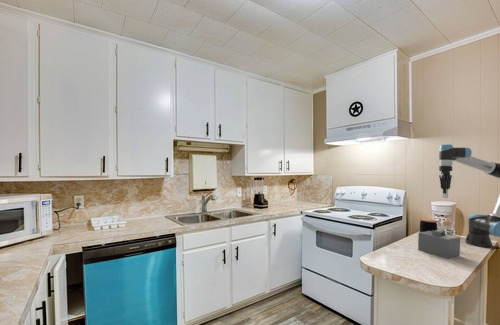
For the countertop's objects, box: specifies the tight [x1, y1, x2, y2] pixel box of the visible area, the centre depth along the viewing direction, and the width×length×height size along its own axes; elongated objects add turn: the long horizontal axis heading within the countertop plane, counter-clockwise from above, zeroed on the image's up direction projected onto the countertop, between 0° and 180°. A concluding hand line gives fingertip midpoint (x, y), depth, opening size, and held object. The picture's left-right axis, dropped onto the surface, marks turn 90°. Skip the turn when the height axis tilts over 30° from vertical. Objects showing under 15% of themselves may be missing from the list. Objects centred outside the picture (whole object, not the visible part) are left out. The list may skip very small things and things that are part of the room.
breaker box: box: [417, 230, 461, 260], centre depth 164 cm, size 14×18×15 cm
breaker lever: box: [436, 220, 453, 234], centre depth 162 cm, size 6×2×11 cm
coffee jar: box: [419, 217, 438, 232], centre depth 185 cm, size 11×11×18 cm
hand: (445, 197), depth 177 cm, fingers closed
